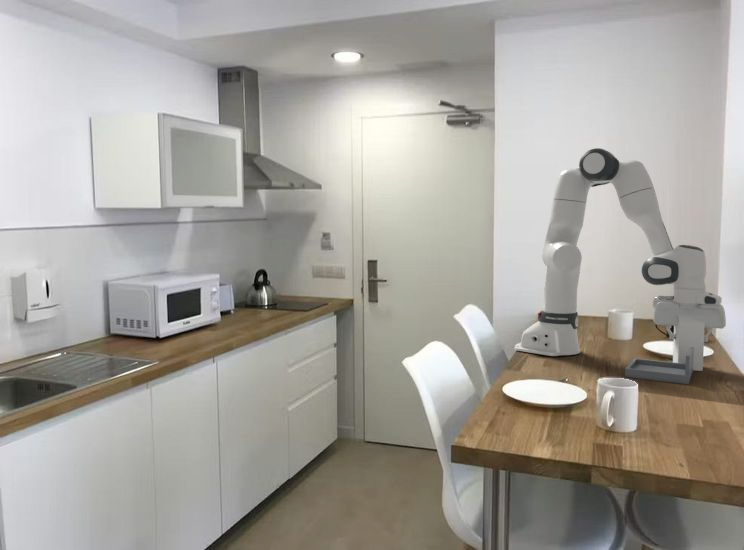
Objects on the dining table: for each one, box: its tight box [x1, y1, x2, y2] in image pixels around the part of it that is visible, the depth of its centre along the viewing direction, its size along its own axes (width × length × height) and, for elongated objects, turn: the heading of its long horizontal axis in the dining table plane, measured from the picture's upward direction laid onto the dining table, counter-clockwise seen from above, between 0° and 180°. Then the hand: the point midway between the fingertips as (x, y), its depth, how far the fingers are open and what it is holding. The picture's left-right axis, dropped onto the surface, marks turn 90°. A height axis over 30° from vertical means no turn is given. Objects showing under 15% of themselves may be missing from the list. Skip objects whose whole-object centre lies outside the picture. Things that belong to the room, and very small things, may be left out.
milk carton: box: [672, 315, 705, 372], centre depth 192 cm, size 7×7×19 cm
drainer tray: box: [624, 347, 694, 385], centre depth 184 cm, size 17×16×8 cm
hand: (688, 340), depth 191 cm, fingers closed on milk carton, 8 cm apart
